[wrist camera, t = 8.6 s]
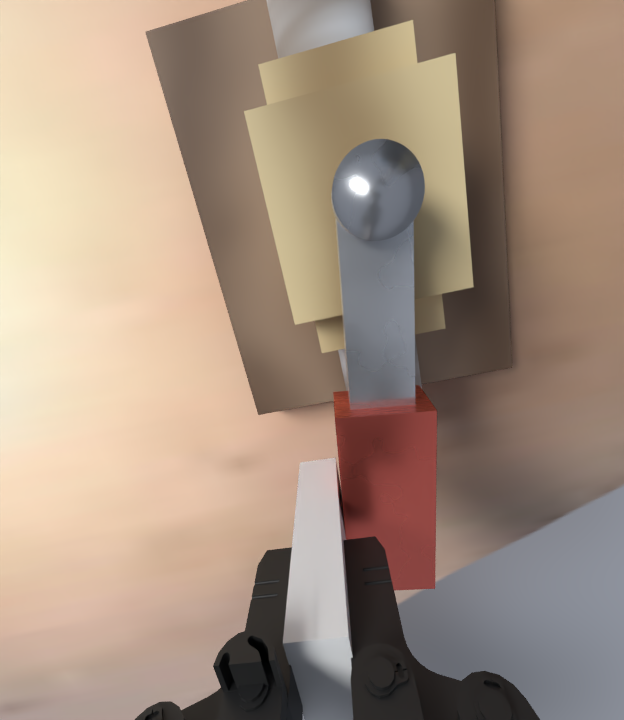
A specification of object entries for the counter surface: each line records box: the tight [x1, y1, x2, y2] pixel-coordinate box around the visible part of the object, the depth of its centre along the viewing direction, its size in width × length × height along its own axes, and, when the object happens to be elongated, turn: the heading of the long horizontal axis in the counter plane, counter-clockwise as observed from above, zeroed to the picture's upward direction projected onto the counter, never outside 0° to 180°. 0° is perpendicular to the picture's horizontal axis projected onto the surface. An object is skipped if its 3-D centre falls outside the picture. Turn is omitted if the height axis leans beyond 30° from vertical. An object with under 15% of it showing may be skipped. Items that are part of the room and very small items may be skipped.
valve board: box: [146, 0, 512, 415], centre depth 14 cm, size 14×18×8 cm
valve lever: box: [331, 139, 437, 590], centre depth 11 cm, size 14×3×2 cm, turn 6°
